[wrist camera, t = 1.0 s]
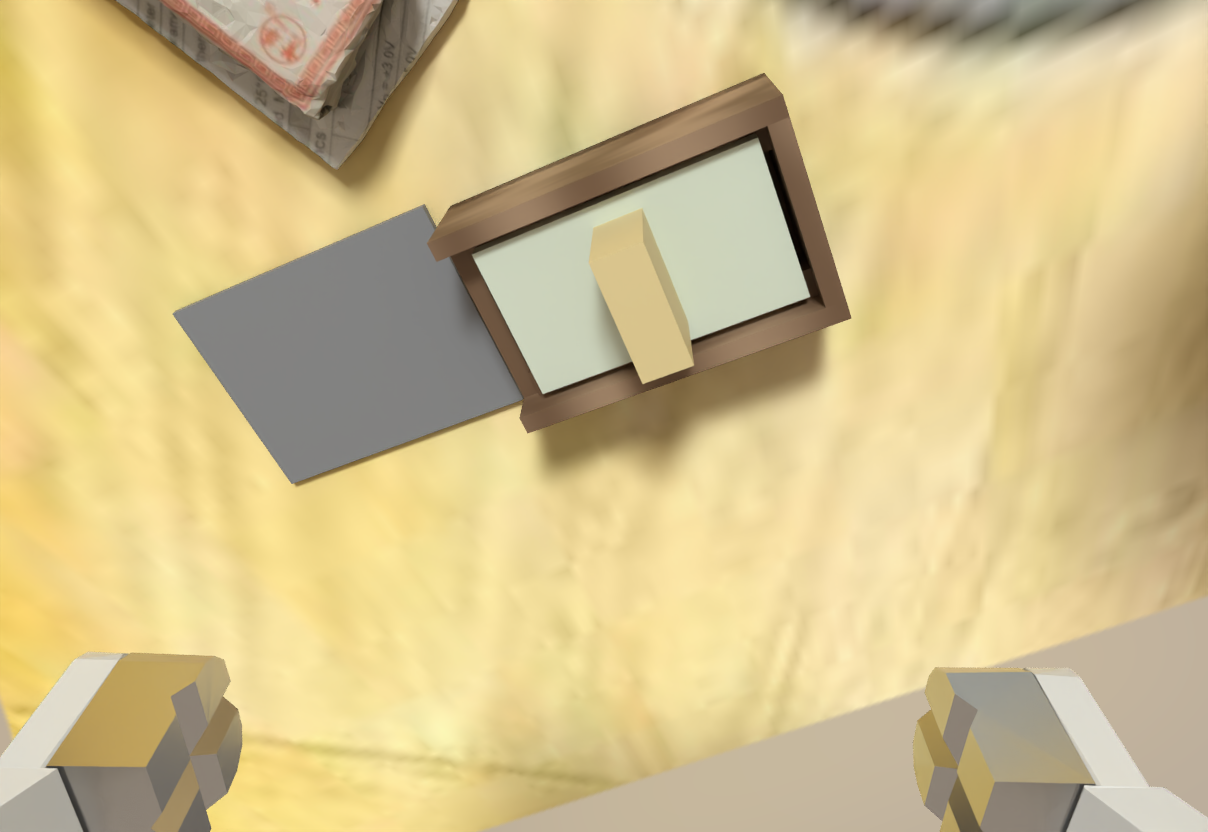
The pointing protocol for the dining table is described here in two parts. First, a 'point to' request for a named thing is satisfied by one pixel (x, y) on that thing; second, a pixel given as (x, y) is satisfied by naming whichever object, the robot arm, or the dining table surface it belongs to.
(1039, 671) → the robot arm
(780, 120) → the box
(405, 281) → the mat
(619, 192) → the lid
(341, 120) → the packaged product
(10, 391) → the dining table surface
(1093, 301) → the dining table surface
